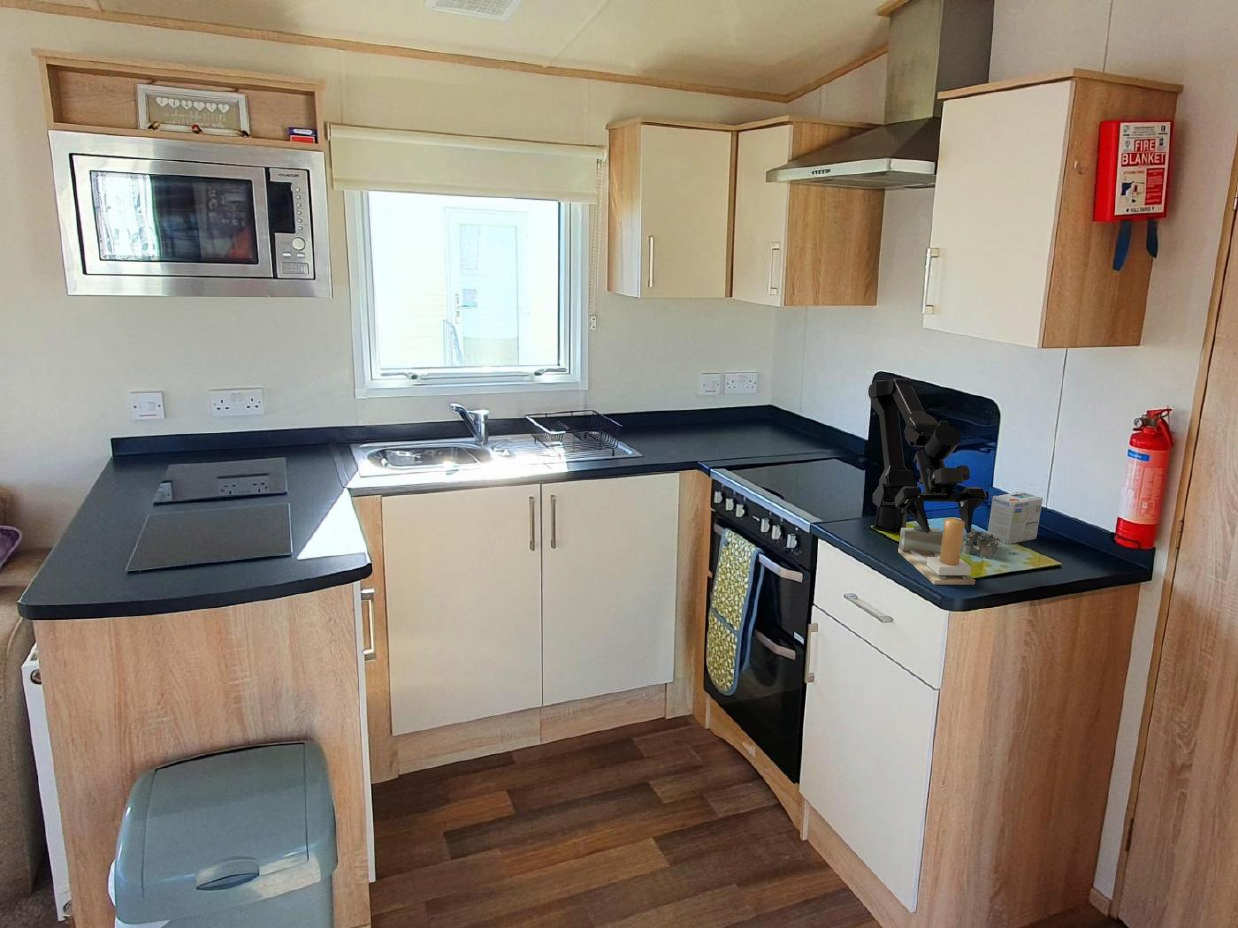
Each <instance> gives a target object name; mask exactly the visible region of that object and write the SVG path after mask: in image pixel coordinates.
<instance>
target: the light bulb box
mask: <svg viewBox="0 0 1238 928" xmlns="http://www.w3.org/2000/svg"><path fill="white" fill-rule="evenodd" d="M1042 505H1043V497H1040V496H1037V495H1033V494H1030V493H1026V492H1024V491H1017V492H1011V493H1006V494H1001V495H993V496H992V500H991V507H990V508H991V509H990V515H989V521H988V529H987V533H988V534H992V535H993V537H995V538H997V537H1000V542H1001V543H1004V544H1007V545H1011V544H1014V543H1019V542H1026V541H1031V540H1036V539H1037V535H1038V529H1039V525H1040V516H1041V511H1042Z"/></svg>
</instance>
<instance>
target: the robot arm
mask: <svg viewBox="0 0 1238 928" xmlns="http://www.w3.org/2000/svg"><path fill="white" fill-rule="evenodd" d="M867 390H868V391H867V393H868V398H869V399H870V405H871V408H872V409H873V410H874V411H875V412H876V414H877V415H878V418H879V427H880V436H881V447H882V448H881V449H882V456H883V467H884V470H883V472H882V474H881V476H880V478H879V480H878V482H879V483H878V486H877V487H876V488H875V490H874V492H872V503H873V504H874V505H875V506H876V516H875V517H876V518H875V524H874V525H872V528H873V529H875V530H879V531H884V532H887V533H892V534H899V533H901V528H907V522H908V521H907V519H908V515H909V516H910V517H911V518H912V519H913V520H914V521H915V522H916V523H917V524H918V526H921V528H922V529H923V530H924V531H925V532H926V533H929V531H930V529H929V528H930V524H929V520H928V517H927V514H926V510H925V502H927V503H928V502H932V503H934V502H935V503H936V502H939V503H942V502H947V503H949V502H950V503H953V502H955V503H957V506H958V507H959V509H958V513H959V516H960V520H963V521H964V522H965V526H964V531H966V533H970V532H971V529H972V526H973V525H972V524H973V515H974V511H975V509H978V508H979V506H980V505H981V504H982V503H983V502H985V500H986V499H987V494H986V491H985V489H984V488H983V487H981V486H978V487H977V486H973V487H971V486H967V487H965V488H964V489H963V490H962V491H961V492H953V491H954V490H956V489H957V488H958V484H963V483H964V482H965V481H968V480H970V478H971V471H970V468H969V466H968V465H967V464H966V465H964V464H963V465H961V464H960V465H957V466H956V467H947V466H946V463H945V459H948V458H949V457H950V456H951V454H952V453H953V452H954V450H955V449H956V448H957V446H959V444H960V443H961V442H962V435H961V433H960V432H959V430H957V428H955V427H953V426H952V425H950V424H949V421H947V420H939V421H937V419H936V418H935V417H934V416H932V415H930V414H928V413H927V412H926V411H925V409H924V408H923V406H922V404H921V401H920V400H919V397H918V396H917V394H916V392H915V390H914V388H913V382H912V380H911V379H908V378H899V377H898V378H893V377H892V378H891V379H888V380H884V379H883V380H880V379H878V380H877V379H876V380H874V381H873V383H871V384H870V385H869V386H868V389H867ZM899 413H900V414H901V415H902V418H903V420H904V422H905V428H904V431H903V433H904V439H905V441H906V442H907V444H908V446H910V447H919V448H918V449H917V451H916V453H914V457H913V461H912V462H913V463H914V464H917V467H918V471H919V475H920V478H919V479H918V482H919V483H918V484H919V485H922V487H923V492H922V488H921V487H920V486H916V483H915V478H914V477H915V476H914V473H913V470H908V469H907V467H906V466H905V459H904V449H903V441H902V432H901V423H900V414H899Z"/></svg>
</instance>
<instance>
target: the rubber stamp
mask: <svg viewBox="0 0 1238 928" xmlns="http://www.w3.org/2000/svg"><path fill="white" fill-rule="evenodd" d="M964 526H965V522H964V521H963V520H961V518H960V519H959V518H954V517H950V518H949V517H948V518H945V519H944V525H943V530H942V531H943V536H942V543H941V551H940V552H941V553H940V557H928V558H927V566H929V567H930V568H931V569H932V570H933V571H934V572H936V573H937V574H938V575H970V576H971V573H972V567H971V566H970V564H968V563H967V562H965V561H964V560H963V559H961V553H962V551H961V547H962V540H963V536H964V531H965V528H964Z"/></svg>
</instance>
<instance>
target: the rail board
mask: <svg viewBox="0 0 1238 928" xmlns="http://www.w3.org/2000/svg"><path fill="white" fill-rule="evenodd" d="M929 529H930V531H929V533H926V532H925V531H924V530H923V529H922V528H921V526H920V525H914V526H913V527H906V528H901V531H900V532H899V533H900V535H899V543H898V551H897V552H898V553H899V554H900V555H901V556H902V557H903V558H904V559H905V560H906V561H907V562H908V563H910V565H912V566H913V567H914V568H915V569H916V570H917V571H918V572H920V573H921V574H922V575H923V576H924V577H925V578H926V579H928V580H929V581H930V582H931V583H932V584H933V585H975V584H976V579H975V578H973V577H972V576H971V574H970V575H938V574H937V573H936V572H934V571H933V570H932V569H931V568H930V567H929V566H927V558H928V557H940V553H941V545H942V538H943V531H944V530H942V529H941V528H939V527H929Z"/></svg>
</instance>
